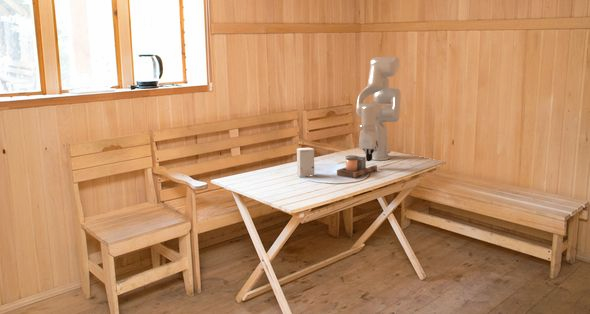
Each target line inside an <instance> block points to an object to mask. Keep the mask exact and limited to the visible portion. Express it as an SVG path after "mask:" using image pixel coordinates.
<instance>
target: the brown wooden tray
mask: <svg viewBox="0 0 590 314" xmlns="http://www.w3.org/2000/svg"><path fill="white" fill-rule="evenodd" d="M377 171H378V165H376V164H374V165H371V166H368V167H366V168H365V169H362V170H359V171H357V172H351V171H346V166H345V167H343V168H340V169H337V170H336V176H337V175H338V176H337V177H342V176H343V178H349V179H358V178H361V177H364V176H367V175H370V174H372V173H375V172H377Z"/></svg>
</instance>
